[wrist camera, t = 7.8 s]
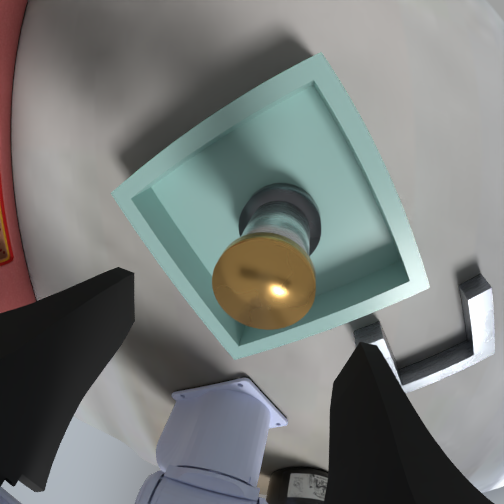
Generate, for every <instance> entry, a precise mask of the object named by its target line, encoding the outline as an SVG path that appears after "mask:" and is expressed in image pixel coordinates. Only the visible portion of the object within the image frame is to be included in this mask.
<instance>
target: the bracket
mask: <svg viewBox="0 0 504 504" xmlns="http://www.w3.org/2000/svg"><path fill="white" fill-rule="evenodd" d="M459 289H460V295H461V300H462V306H463V312H464V319H465V326H466V334H467V341H464V342H462V343H460V344H458V345H456V346H454V347H452V348H450V349H448V350H446V351H443V352H441V353H439V354H437V355H434V356H432V357H430V358H427V359H425V360H423V361H420V362H418V363H415V364H413V365H410V366H408V367H405V368H403V369H400V370H399V369H398V366H397V364H396V361H395V358H394V356H393V353H392V351H391V348H390V346H389V343H388V341H387V338H386V336H385V333H384V331H383V328H382V326H381V324H380V322H377V323H375V324H372V325H370V326H367V327H364V328H362V329H359V330H357V331H354V335H355V344H356V347H357V345H358V344H359V342H364V343H368V344H373V345H377V346H378V348H379V349H380V351H381V352H382V354H383V356H384V357H385V359H386V361H387V362H388V364H389V366H390V368H391V369H392V371H393V373H394V375H395V376H396V378H397V380H398V382H399V383H400V385H401V387H402V389H403V390H404V392H405V393H408V392H411V391H413V390H416V389H418V388H421V387H424V386H426V385H429V384H431V383H433V382H436V381H438V380H441V379H443V378H445V377H447V376H450V375H452V374H454V373H456V372H459V371H461V370H463V369H465V368H467V367H469V366H471V365H473V364H475V363H477V362H479V361H481V360H483V359H485V358H487V357H489V356H491V355H492V354H494V353H495V332H494V309H493V296H492V287H491V286H490V285H489V283H488V282H487V281H486V279H485V278H484V277H483V276H482V274H480V275H478V276H476V277H474V278H472V279H471V280H469V281H467V282H465V283H463V284H461V285H459Z"/></svg>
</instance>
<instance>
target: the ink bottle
mask: <svg viewBox="0 0 504 504" xmlns="http://www.w3.org/2000/svg"><path fill="white" fill-rule="evenodd" d="M327 481H328V473H326V472H324V471H321V470H317V469H313V468H287V469H282V470H278V471H275V472H274V473H272V474H271V477H270V481H269V486H268V491H267V496H266V502H267V503H268V504H323V503H324V498H325V492H326V487H327Z"/></svg>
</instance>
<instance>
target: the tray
mask: <svg viewBox="0 0 504 504" xmlns="http://www.w3.org/2000/svg"><path fill="white" fill-rule="evenodd" d="M273 183H288V184H293V185H296V186H298V187H300V188H302V189H303V190H305V191H306V192H307V193H309V194H310V195H311V197H312V198H313V199H314V200H315V202H316V204H317V206H318V208H319V211H320V216H321V237H320V241H319V244H318V246H317V248H316V249H315V251H314V252H313V253H312V254H311V255H310V256H309V257H310V259H311V260H312V262H313V265H314V268H315V273H316V293H315V299H314V302H313V304H312V307H311V308H310V310H309V311H308V313H307V314H306V315H305V316H304V317H303V318H302V319H301V320H299V321H298V322H296V323H294V324H292V325H290V326H287V327H285V328H280V329H273V330H264V329H257V328H252V327H249V326H246V325H244V324H242V323H240V322H238V321H236V320H235V319H233V318H232V317H231V316H229V315H228V314H227V313H226V312H225V311H224V310H223V309H222V307H221V306H220V305H219V303H218V301H217V300H216V298H215V295H214V292H213V288H212V275H213V270H214V268H215V265H216V264H217V262H218V260H219V258H220V257H221V255H222V253H223V252H224V250H225V249H226V248H227V246H228V245H230V244H231V243H232V242H233V241H235V240H236V239H238V238H240V235H239V226H238V225H239V218H240V214H241V212H242V210H243V208H244V206H245V205H246V203H247V202H248V200H249V199H250V198H251V196H252V195H253V194H254V193H255V192H256V191H258V190H259V189H260V188H262V187H264V186H266V185H269V184H273ZM111 194H112V196H113V197H114V199H115V200H116V202H117V204H118V205H119V207H120V208H121V210H122V211H123V213H124V214H125V216H126V217H127V219H128V220H129V222H130V223H131V225H132V226H133V228H134V229H135V231H136V232H137V233H138V235H139V236H140V238H141V239H142V241H143V242H144V244H145V245H146V246H147V248H148V249H149V251H150V252H151V253H152V255H153V256H154V258H155V259H156V260H157V262H158V263H159V265H160V266H161V267H162V269H163V270H164V271H165V273H166V274H167V275H168V277H169V278H170V280H171V281H172V282H173V284H174V285H175V286H176V288H177V289H178V290H179V292H180V293H181V294H182V295H183V297H184V298H185V299H186V301H187V302H188V303H189V305H190V306H191V307H192V308H193V310H194V311H195V312H196V313H197V315H198V316H199V317H200V319H201V320H202V321H203V322H204V324H205V325H206V326H207V327H208V328H209V330H210V331H211V332H212V333H213V335H214V336H215V337H216V338H217V340H218V341H219V342H220V343H221V344H222V346H223V347H224V348H225V349H226V350H227V352H228V353H229V354H230V355H231V356H232V357H233V359H234V360H236V359H239V358H243V357H246V356H250V355H253V354H257V353H260V352H263V351H266V350H270V349H273V348H276V347H279V346H282V345H285V344H289V343H292V342H295V341H298V340H301V339H304V338H306V337H309V336H312V335H315V334H318V333H321V332H324V331H326V330H329V329H332V328H334V327H337V326H340V325H343V324H345V323H348V322H350V321H353V320H356V319H358V318H361V317H363V316H366V315H368V314H371V313H373V312H375V311H378V310H380V309H383V308H385V307H387V306H390V305H392V304H394V303H397V302H399V301H401V300H404V299H406V298H408V297H410V296H413V295H415V294H417V293H419V292H421V291H424V290H426V289H428V288H430V286H429V283H428V279H427V276H426V272H425V269H424V266H423V263H422V259H421V256H420V253H419V250H418V247H417V244H416V241H415V238H414V236H413V233H412V230H411V227H410V224H409V222H408V219H407V216H406V214H405V211H404V209H403V206H402V204H401V201H400V199H399V196H398V194H397V191H396V189H395V187H394V184H393V182H392V180H391V178H390V175H389V173H388V171H387V169H386V166H385V164H384V162H383V160H382V158H381V156H380V154H379V152H378V149H377V147H376V145H375V143H374V141H373V139H372V137H371V135H370V133H369V132H368V130H367V128H366V126H365V124H364V122H363V120H362V118H361V116H360V115H359V113H358V111H357V109H356V107H355V106H354V104H353V102H352V100H351V99H350V97H349V95H348V94H347V92H346V90H345V88H344V87H343V85H342V83H341V82H340V80H339V79H338V77H337V75H336V74H335V72H334V71H333V69H332V68H331V66H330V64H329V63H328V61H327V60H326V58H325V57H324V55H323V54H322V52H321V53H318V54H316V55H314V56H312V57H310V58H308V59H306V60H304V61H302V62H300V63H299V64H297V65H295V66H293V67H291V68H289V69H287V70H285V71H283V72H282V73H280V74H278V75H276V76H274V77H273V78H271V79H269V80H267V81H266V82H264V83H262V84H260V85H259V86H257V87H255V88H254V89H252V90H250V91H249V92H247V93H245V94H244V95H242V96H241V97H239V98H237V99H236V100H234V101H233V102H231V103H229V104H228V105H226V106H225V107H223V108H222V109H220V110H219V111H217V112H216V113H214V114H213V115H211V116H210V117H208V118H207V119H205V120H204V121H202V122H201V123H199V124H198V125H197V126H195V127H194V128H192V129H191V130H189V131H188V132H187V133H185V134H184V135H183V136H181V137H180V138H178V139H177V140H176V141H174V142H173V143H172V144H170V145H169V146H168V147H166V148H165V149H164V150H163V151H161V152H160V153H159V154H157V155H156V156H155V157H154V158H152V159H151V160H150V161H148V162H147V163H146V164H145V165H144V166H142V167H141V168H140V169H139V170H137V171H136V172H135V173H134V174H133V175H131V176H130V177H129V178H128V179H127V180H125V181H124V182H123V183H122V184H121V185H120V186H119V187H117V188H116V189H115V190H114V191H113V192H112V193H111Z"/></svg>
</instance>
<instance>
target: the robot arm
mask: <svg viewBox="0 0 504 504" xmlns="http://www.w3.org/2000/svg"><path fill="white" fill-rule="evenodd" d="M134 321H135V315H134V273H133V272H130V271H127V270H125V269H122V268H119V267H117V268H114V269H112V270H109V271H107V272H104V273H102V274H100V275H97V276H95V277H93V278H91V279H88V280H86V281H84V282H82V283H79V284H77V285H75V286H72V287H70V288H68V289H66V290H63V291H61V292H59V293H56V294H54V295H51V296H48V297H46V298H43V299H41V300H38V301H36V302H34V303H31V304H28V305H25V306H22V307H19V308H16V309H13V310H9V311H6V312H3V313H0V504H21V503H20V502H19V501H18V500H16V499H15V498H14V497H13V496H11V495H10V494H9V493H8V492H7V491H5V490H4V489H3V488H2V487H1V485H2V483H3V482H4V480H6V481H7V482H8V483H9V484H10V485H12V486H15V485H16V483H17V481H18V480H19V481H20V482H21V483H23V484H24V485H26V486H27V487H29V488H30V489H31V490H33V491H34V492H41V491H44V490H45V487H46V483H47V479H48V476H49V473H50V469H51V466H52V463H53V461H54V458H55V456H56V453H57V450H58V448H59V445H60V443H61V441H62V439H63V436H64V434H65V432H66V430H67V427H68V425H69V423H70V421H71V419H72V417H73V416H74V414H75V412H76V410H77V408H78V406H79V404H80V402H81V401H82V399H83V397H84V396H85V394H86V393H87V391H88V390H89V388H90V387H91V386H92V384H93V383H94V382H95V380H96V379H97V377H98V376H99V375H100V373H101V372H102V371H103V369H104V368H105V366H106V365H107V364H108V362H109V361H110V360H111V358H112V357H113V356H114V354H115V353H116V352H117V350H118V349H119V347H120V346H121V344H122V343H123V341H124V339H125V337H126V336H127V334H128V332H129V330H130V328H131V327H132V325H133V323H134ZM172 397H173V398H174V399H175V400H176V403H175V405H174V408H173V410H172V412H171V414H170V416H169V419H168V421H167V423H166V425H165V428H164V430H163V432H162V434H161V436H160V439H159V441H158V444H157V448H156V458H157V463H158V466H159V468H160V469H161V471H157V472H155V473H153V474H151V475H149V476H148V477H147V479H146V480H145V481H144V483H143V485H142V487H141V489H140V491H139V493H138V495H137V498H136V502H135V504H268V503H267V502H266V499H265V498H260V497H258V495H259V491H260V488H257V483H258V478H259V474H260V469H261V464H262V460H263V455H264V450H265V445H266V440H267V435H268V430H269V428H274V427H280V426H285V425H287V424H288V420H287V419H286V418H285V417H284V416H283V415H282V414H281V413H280V412H279V411H278V410H277V408H276V407H275V406H274V405H273V404H272V403H271V402H270V401H269V400H268V399H267V398H266V397H265V396H264V394H263V393H262V392H261V391H260V390H259V389H258V388H257V387H256V386H255V385H254V383H253V382H252V381H251V380H250V379H248V378H240V379H236V380H231V381H227V382H222V383H218V384H213V385H208V386H203V387H198V388H193V389H188V390H182V391H177V392H173V393H172ZM323 504H494V503H493V502H491V501H490V500H489V499H487V498H486V497H485V496H484V495H483V494H482V493H481V492H480V491H479V490H478V489H476V488H475V487H474V486H473V485H472V484H471V483H470V482H469V481H468V480H467V479H466V478H465V477H464V475H463V474H462V473H461V472H460V471H459V470H458V469H457V468H456V466H455V465H454V464H453V463H452V462H451V461H450V459H449V458H448V457H447V456H446V454H445V453H444V452H443V450H442V449H441V448H440V446H439V445H438V444H437V442H436V441H435V440H434V438H433V437H432V435H431V434H430V433H429V431H428V430H427V428H426V427H425V425H424V423H423V422H422V420H421V419H420V417H419V416H418V414H417V412H416V411H415V409H414V407H413V406H412V404H411V402H410V401H409V399H408V397H407V396H406V394H405V392H404V390H403V389H402V387H401V385H400V383H399V382H398V380H397V378H396V376H395V375H394V373H393V371H392V369H391V368H390V366H389V364H388V362H387V361H386V359H385V357H384V356H383V354H382V352H381V351H380V349H379V348H378V346H377V345H373V344H368V343H364V342H359V344H358V345H357V347H356V349H355V350H354V352H353V353H352V355H351V357H350V358H349V360H348V361H347V363H346V364H345V366H344V367H343V369H342V370H341V372H340V373H339V375H338V376H337V378H336V379H335V381H334V383H333V390H332V397H331V406H330V440H329V471H328V481H327V487H326V492H325V498H324V503H323Z"/></svg>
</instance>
